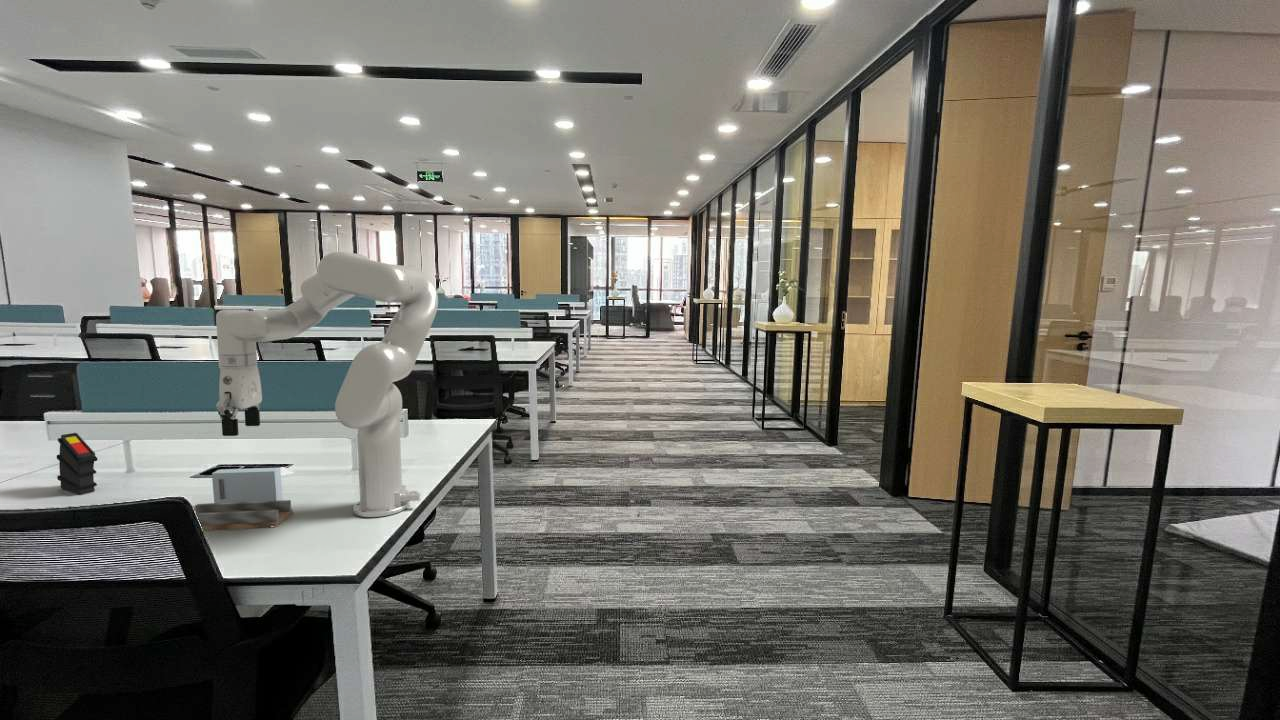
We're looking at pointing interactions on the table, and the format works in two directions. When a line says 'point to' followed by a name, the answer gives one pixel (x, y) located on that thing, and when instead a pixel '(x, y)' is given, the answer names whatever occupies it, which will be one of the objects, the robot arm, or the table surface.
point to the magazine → (76, 464)
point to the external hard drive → (285, 472)
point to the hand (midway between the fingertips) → (242, 430)
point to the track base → (242, 514)
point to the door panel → (247, 485)
